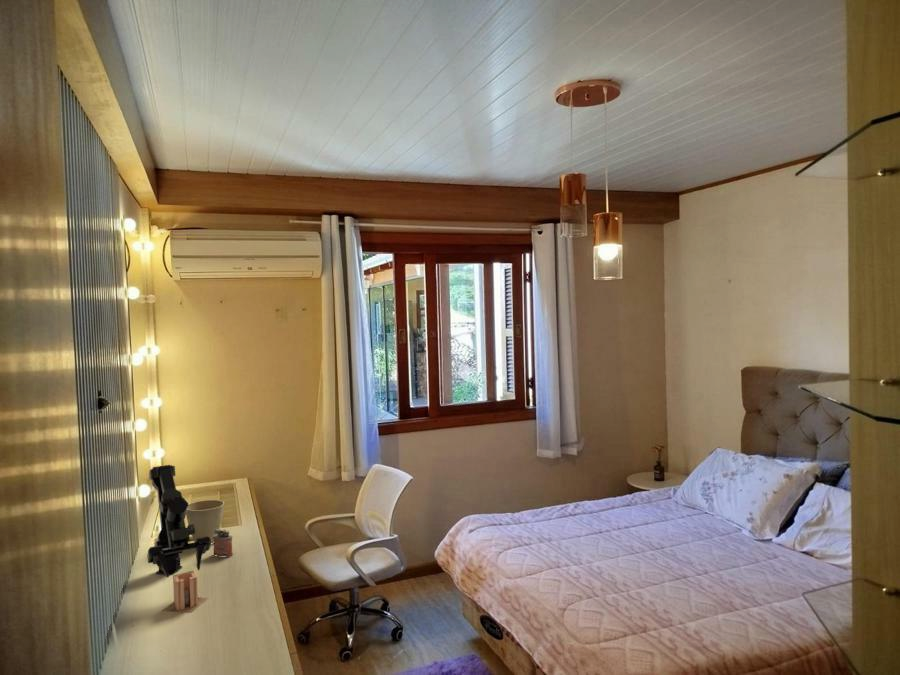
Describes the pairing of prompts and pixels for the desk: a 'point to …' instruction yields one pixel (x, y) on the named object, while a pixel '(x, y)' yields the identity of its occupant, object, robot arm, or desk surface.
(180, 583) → the c link
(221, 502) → the plant pot
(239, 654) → the desk surface
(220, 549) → the perfume bottle
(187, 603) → the stand
